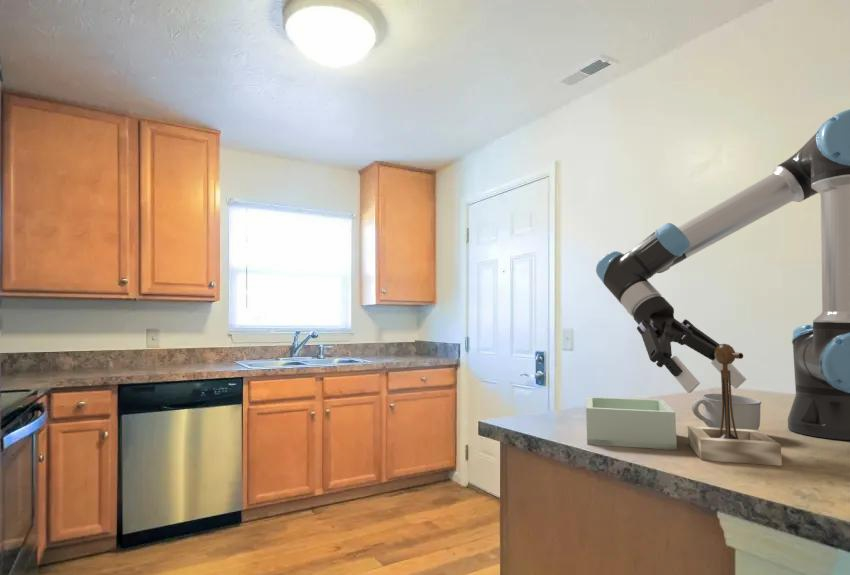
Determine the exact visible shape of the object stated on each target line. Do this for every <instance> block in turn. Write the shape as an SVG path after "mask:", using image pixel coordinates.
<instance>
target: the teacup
mask: <svg viewBox="0 0 850 575" xmlns="http://www.w3.org/2000/svg"><path fill="white" fill-rule="evenodd" d="M731 395H732V408H733V417H734V422H735V428H736V429H750V430H759V429H760V424H761V404H762V400H759V399H758V398H755V397H750V396H747V395H746V396H744V395H739V394H738V395H737V394H732V393H731ZM701 404H702V405H703V406H702V407H703V409H702V410H703V411H702V412H703V415H702V414H701V413H700V411H699V406H701ZM729 407H730V399H729ZM691 411H692V413H693V414H694V416H695V417H697V418H698V419H699V420H701V421H702V422H704V424H705V425H706V427H714V428H721V418H722V393H717V392H716V393H705V394H702V398H697V399H695V400H694V401H693V402H692V405H691ZM723 428H725V408H724V421H723ZM730 428H732V429H733V423H732V418H731V410H730Z"/></svg>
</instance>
